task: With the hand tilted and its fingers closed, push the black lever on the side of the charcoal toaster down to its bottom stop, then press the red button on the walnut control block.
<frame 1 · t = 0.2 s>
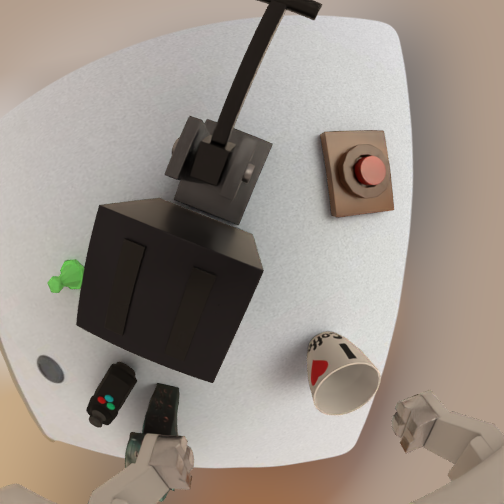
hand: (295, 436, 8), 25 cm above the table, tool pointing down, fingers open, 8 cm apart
ceramic cat: (170, 418, 39), on the table
toaster bracket: (222, 171, 31), on the table
toaster lever: (243, 81, 16), point 15 cm above the table, hinge at 24.0°
toaster: (190, 254, 33), on the table
cancel button: (370, 170, 27), point 4 cm above the table, slide at 0.1 cm
cup: (324, 346, 36), on the table
control block: (355, 172, 31), on the table
controller: (125, 369, 36), on the table
game piece: (75, 273, 33), on the table
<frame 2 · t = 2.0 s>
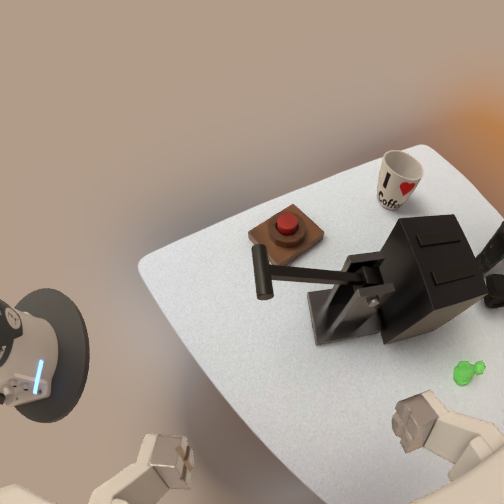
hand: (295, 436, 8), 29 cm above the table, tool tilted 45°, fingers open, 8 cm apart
ceramic cat: (491, 257, 42), on the table
toaster bracket: (342, 314, 39), on the table
toaster lever: (324, 276, 27), point 15 cm above the table, hinge at 24.0°
toaster: (401, 303, 39), on the table
cancel button: (287, 224, 44), point 4 cm above the table, slide at 0.1 cm
cup: (388, 200, 51), on the table
control block: (286, 238, 47), on the table
controller: (487, 301, 37), on the table
game piece: (461, 373, 32), on the table
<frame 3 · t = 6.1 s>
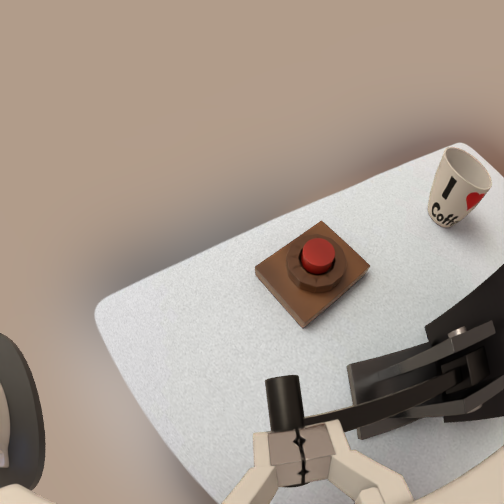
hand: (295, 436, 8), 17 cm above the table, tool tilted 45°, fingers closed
toaster bracket: (396, 390, 23), on the table
toaster lever: (408, 398, 11), point 14 cm above the table, hinge at 15.2°, touching gripper
toaster: (465, 361, 23), on the table
cancel button: (317, 256, 27), point 4 cm above the table, slide at 0.1 cm
cup: (440, 214, 34), on the table
control block: (312, 274, 31), on the table
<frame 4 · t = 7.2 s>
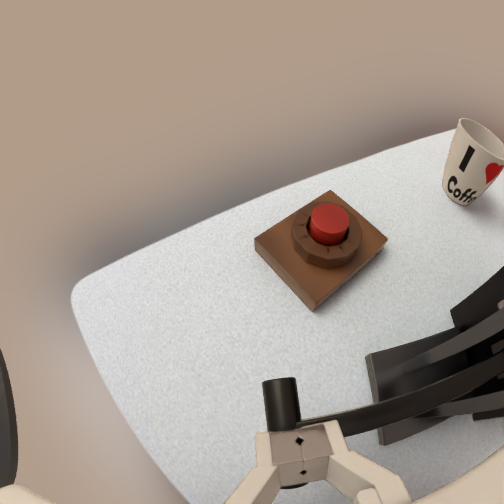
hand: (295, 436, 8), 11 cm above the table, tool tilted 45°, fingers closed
toaster bracket: (422, 384, 18), on the table
toaster lever: (436, 394, 9), point 11 cm above the table, hinge at -8.6°, touching gripper
toaster: (493, 350, 18), on the table
cancel button: (329, 223, 23), point 4 cm above the table, slide at 0.1 cm
cup: (455, 192, 30), on the table
control block: (321, 249, 26), on the table
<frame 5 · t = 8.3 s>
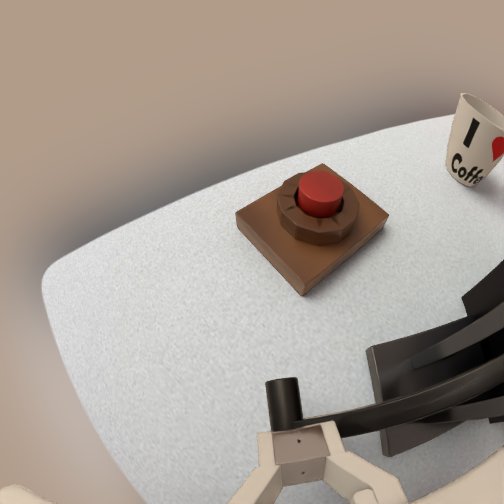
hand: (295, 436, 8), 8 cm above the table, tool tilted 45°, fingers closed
toaster bracket: (433, 383, 15), on the table
toaster lever: (447, 393, 7), point 9 cm above the table, hinge at -28.6°, touching gripper
cancel button: (320, 193, 19), point 4 cm above the table, slide at 0.1 cm
cup: (460, 173, 27), on the table
control block: (313, 227, 23), on the table
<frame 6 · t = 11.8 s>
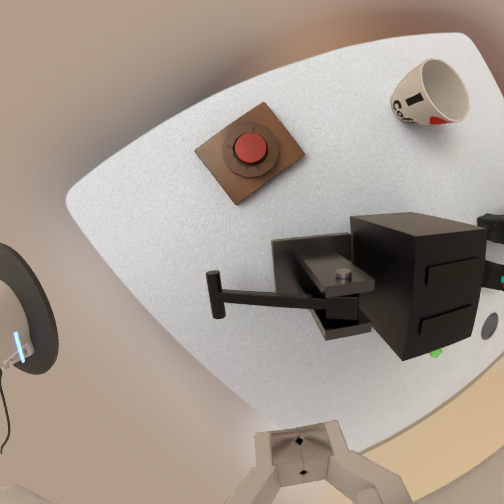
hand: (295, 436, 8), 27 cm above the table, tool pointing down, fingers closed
ceramic cat: (499, 214, 35), on the table
toaster bracket: (312, 266, 35), on the table
toaster lever: (278, 299, 26), point 9 cm above the table, hinge at -25.5°
toaster: (383, 257, 35), on the table
cancel button: (250, 148, 28), point 4 cm above the table, slide at 0.1 cm
cup: (404, 106, 31), on the table
control block: (249, 153, 32), on the table
controller: (475, 266, 37), on the table
game piece: (420, 336, 39), on the table
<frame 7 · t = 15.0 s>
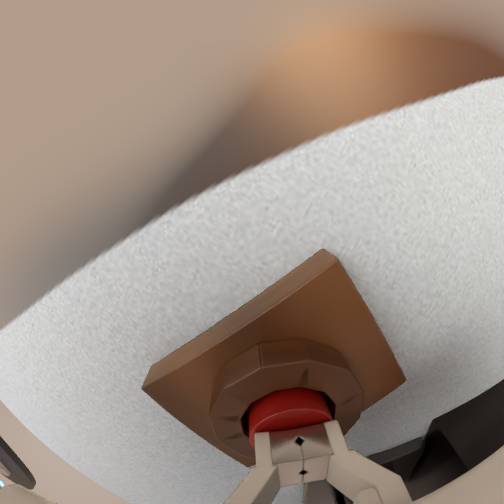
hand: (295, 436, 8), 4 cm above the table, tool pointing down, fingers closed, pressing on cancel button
toaster bracket: (359, 478, 16), on the table
toaster: (452, 439, 16), on the table
cancel button: (289, 421, 9), point 3 cm above the table, slide at -0.4 cm, touching gripper
control block: (279, 371, 13), on the table
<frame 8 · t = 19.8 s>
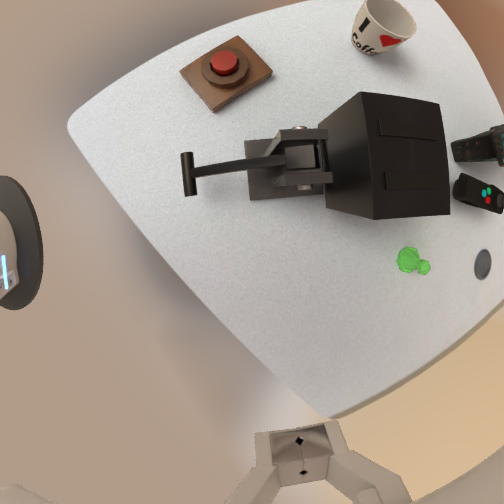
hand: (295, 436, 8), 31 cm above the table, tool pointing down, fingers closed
ceramic cat: (476, 145, 36), on the table
toaster bracket: (283, 167, 36), on the table
toaster lever: (243, 165, 27), point 9 cm above the table, hinge at -25.5°
toaster: (354, 164, 36), on the table
cancel button: (224, 62, 29), point 4 cm above the table, slide at 0.1 cm
cup: (364, 42, 32), on the table
control block: (226, 74, 33), on the table
controller: (456, 191, 38), on the table
game piece: (406, 258, 40), on the table
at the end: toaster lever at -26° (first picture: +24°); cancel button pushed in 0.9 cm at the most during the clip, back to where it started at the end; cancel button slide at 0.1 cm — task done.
